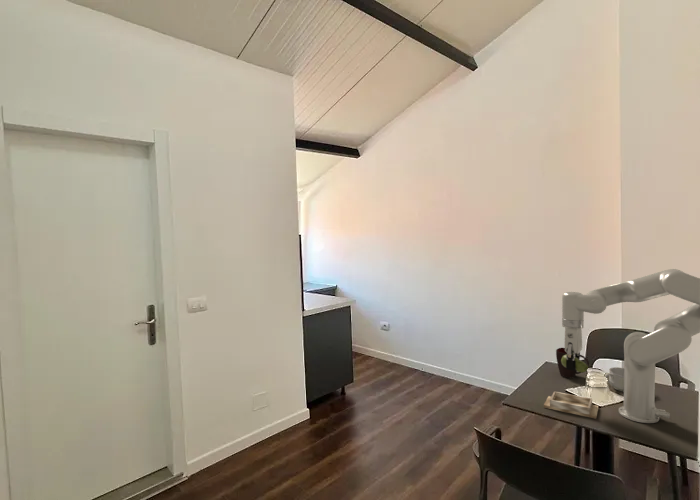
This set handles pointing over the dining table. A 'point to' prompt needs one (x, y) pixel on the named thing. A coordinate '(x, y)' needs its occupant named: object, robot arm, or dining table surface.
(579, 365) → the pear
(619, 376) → the teacup
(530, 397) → the dining table surface
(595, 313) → the robot arm
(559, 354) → the mug
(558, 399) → the open rectangular box
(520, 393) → the dining table surface
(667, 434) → the dining table surface
